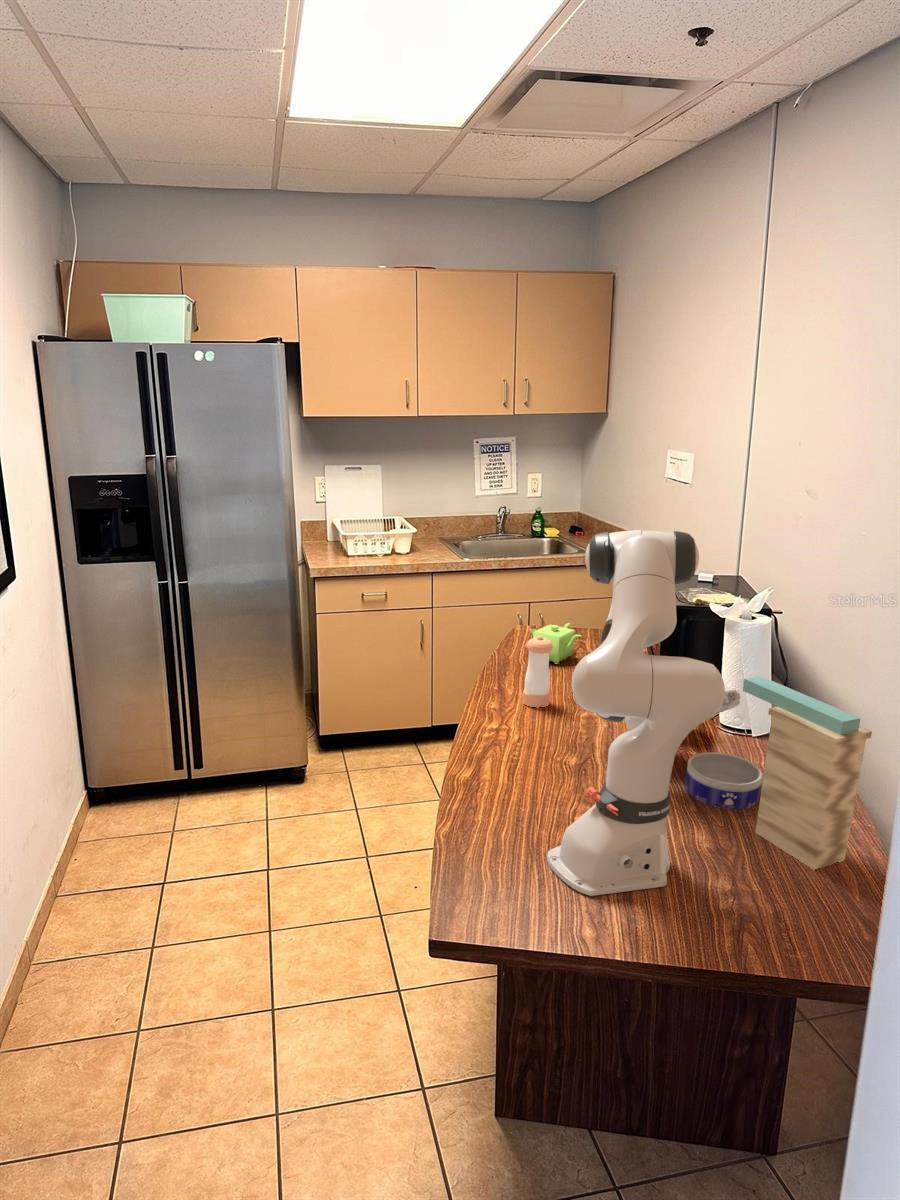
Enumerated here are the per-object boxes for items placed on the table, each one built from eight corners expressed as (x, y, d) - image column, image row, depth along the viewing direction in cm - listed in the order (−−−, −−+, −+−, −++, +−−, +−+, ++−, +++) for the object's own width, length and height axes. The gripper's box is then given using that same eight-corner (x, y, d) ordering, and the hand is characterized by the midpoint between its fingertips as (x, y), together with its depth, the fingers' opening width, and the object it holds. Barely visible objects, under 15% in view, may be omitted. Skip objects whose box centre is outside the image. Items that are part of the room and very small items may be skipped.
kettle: (567, 651, 268) (570, 618, 265) (582, 666, 254) (585, 631, 251) (523, 653, 265) (525, 619, 262) (536, 667, 251) (539, 632, 248)
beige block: (814, 872, 147) (836, 739, 141) (751, 831, 160) (769, 708, 154) (848, 861, 151) (871, 731, 145) (784, 823, 164) (803, 701, 158)
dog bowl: (748, 779, 183) (752, 754, 181) (767, 813, 168) (771, 786, 167) (679, 774, 184) (682, 749, 183) (692, 807, 170) (695, 781, 168)
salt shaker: (518, 705, 220) (522, 637, 216) (527, 696, 227) (531, 630, 222) (544, 710, 218) (549, 641, 213) (552, 701, 224) (557, 634, 219)
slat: (840, 735, 143) (842, 721, 142) (742, 690, 163) (744, 678, 162) (858, 731, 145) (860, 718, 144) (759, 687, 165) (760, 676, 164)
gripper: (638, 701, 180) (678, 689, 168) (709, 689, 189) (752, 678, 176) (644, 729, 178) (685, 720, 166) (716, 716, 187) (760, 707, 175)
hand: (720, 698), depth 171 cm, fingers open, 8 cm apart
